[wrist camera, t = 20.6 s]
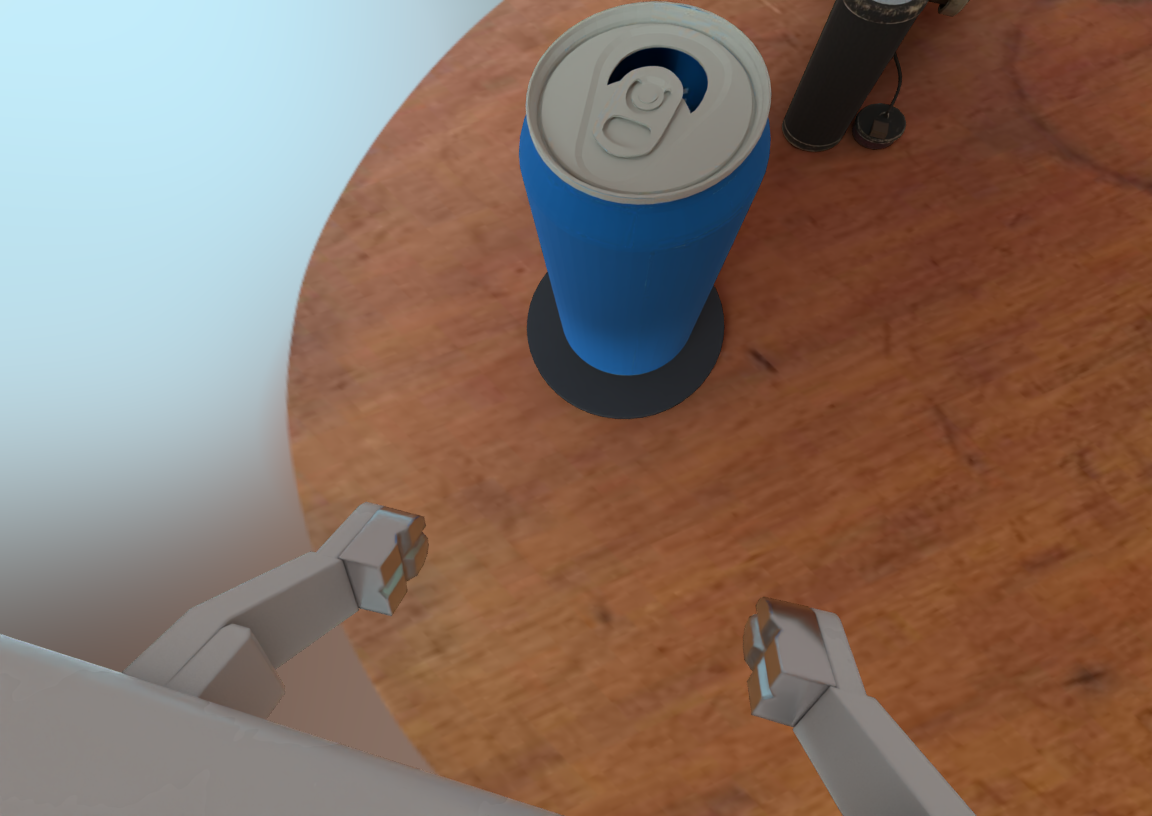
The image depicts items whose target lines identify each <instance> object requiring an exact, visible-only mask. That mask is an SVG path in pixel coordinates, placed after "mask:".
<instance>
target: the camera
mask: <svg viewBox="0 0 1152 816" xmlns="http://www.w3.org/2000/svg"><path fill="white" fill-rule="evenodd" d="M928 1H929V2H934V3H938V4H940V5H939V8H938V13H939V14H943V15H947V16H952V17H953V16H955V15H956V14H958V13H959V12H960V11H961V10H962V9H963V8H964V6H965V5H966V4H967V3H968V2H969V0H836V1H835V3H834V6H833V8H832V10H831V12H830V15H829V17H828V19H827V22H826V24H825V26H824V28H823V31H822V33H821V35H820V38H819V40H818V42H817V44H816V47H815V49H814V51H813V54H812V56H811V58H810V60H809V63H808V65H807V67H806V70H805V72H804V74H803V77H802V79H801V81H800V83H799V86H798V88H797V90H796V93H795V95H794V97H793V99H792V102H791V104H790V106H789V109H788V111H787V113H786V115H785V118H784V120H783V123H782V130H783V134H784V135H785V137H786V139H787V140H788V141H789V142H790V143H791V144H792V145H794V146H796V147H797V148H800V149H802V150H806V151H814V152H816V151H824V150H827V149H830V148H832V147H834V146H835V145H837V144H838V143H839V142H840V140H841V139H842V137H843V136H844V134H845V132H846V130H847V128H848V126H849V125H850V123H851V121H852V120H853V118H854V117H855V115H856V113H857V112H858V110H859V109H860V107H861V106H862V104H863V102H864V101H865V99H866V98H867V96H868V94H869V93H870V91H871V90H872V88H873V86H874V85H875V83H876V82H877V80H878V78H879V77H880V75H881V74H882V72H883V71H884V69H885V67H886V66H887V64H888V63H889V61H890V60H891V59H892V58H893V56H894V60H895V63H896V66H897V70H898V76H899V81H898V88H897V91H896V94H895V96H894V98H893V100H892V102H891V104H890V105H888V104H882V103H878V104H871V105H869V106H867V107H865V108H864V109H862V110H861V111H860V112H859V113H858V114H857V116H856V119H855V123H854V125H853V128H852V133H853V136H854V138H855V140H856V141H857V142H858V143H859V144H860V145H862V146H864V147H866V148H871V149H882V148H885V147H888V146H890V145H891V144H892V143H893V142H894V141H895V140H897V139H898V138H900V137H901V135H902V134H903V132H904V130H905V127H906V121H905V117H904V115H903V114H902V113H901V112H900V111H899V109H897V108H895V107H893V105H894V103H895V101H896V98H897V96H898V94H899V91H900V87H901V83H902V73H901V68H900V64H899V61H898V57H897V54H896V50H897V48H898V47H899V45H900V43H901V42H902V40H903V39H904V37H905V36H906V34H907V32H908V31H909V29H910V28H911V26H912V24H913V23H914V21H915V20H916V18H917V16H918V15H919V14H920V13H921V12H922V11H923V9H924V7H925V6H926V4H927V3H928Z"/></svg>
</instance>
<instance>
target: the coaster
mask: <svg viewBox="0 0 1152 816" xmlns="http://www.w3.org/2000/svg"><path fill="white" fill-rule="evenodd" d="M527 336H528V343H529V347H530V352H531V354H532V357H533V360H534V363H535V364H536V366H537V368H538V370H539V372H540V374H541V375H542V377H543V378H544V380H545V381H546V382H547V384H548V385H549V386H550V387H551V388H552V389H553V390H554V391H555V392H556V393H557V394H558V395H559V396H561V397H562V398H563V399H564V400H566V401H567V402H569V403H570V404H572V405H574V406H575V407H577V408H579V409H581V410H584V411H586V412H588V413H591V414H595V415H598V416H602V417H608V418H615V419H633V418H642V417H647V416H651V415H655V414H658V413H660V412H663V411H666V410H668V409H670V408H672V407H674V406H676V405H677V404H679V403H681V402H682V401H684V400H685V399H686V398H688V397H689V396H690V395H691V394H693V393H694V392H695V391H696V390H697V389H698V388H699V387H700V386H701V384H702V383H703V382H704V381H705V379H706V378H707V377H708V375H709V374H710V372H711V370H712V369H713V367H714V365H715V364H716V361H717V359H718V356H719V354H720V351H721V347H722V343H723V337H724V314H723V309H722V304H721V301H720V298H719V295H718V293H717V291H716V289H715V287H714V285H713V287H712V289H711V291H710V294H709V296H708V298H707V300H706V302H705V304H704V306H703V309H702V311H701V313H700V315H699V317H698V319H697V321H696V324H695V326H694V328H693V330H692V332H691V334H690V337H689V339H688V341H687V342H686V344H685V346H684V347H683V348H682V350H681V351H680V352H679V353H678V354H677V355H676V356H675V357H674V358H673V359H672V360H671V361H669V362H668V363H667V364H665V365H663V366H662V367H660V368H658V369H656V370H653V371H650V372H647V373H643V374H639V375H616V374H611V373H607V372H604V371H601V370H599V369H596V368H594V367H593V366H591V365H589V364H588V363H586V362H585V361H584V360H582V359H581V358H580V357H579V356H578V355H577V354H576V353H575V351H574V350H573V349H572V347H571V346H570V344H569V342H568V341H567V339H566V336H565V334H564V331H563V327H562V323H561V319H560V316H559V312H558V308H557V304H556V301H555V297H554V293H553V289H552V286H551V282H550V278H549V274H548V272H547V273H546V274H545V276H544V277H543V279H542V280H541V282H540V283H539V285H538V287H537V289H536V291H535V293H534V295H533V298H532V301H531V304H530V308H529V313H528V320H527Z"/></svg>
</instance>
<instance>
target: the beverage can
mask: <svg viewBox="0 0 1152 816" xmlns="http://www.w3.org/2000/svg"><path fill="white" fill-rule="evenodd" d="M770 104H771V84H770V78H769V74H768V70H767V67H766V65H765V63H764V60H763V58H762V56H761V54H760V53H759V51H758V50H757V48H756V47H755V45H754V44H753V43H752V42H751V41H750V39H749V38H748V37H747V36H746V35H745V34H744V33H743V32H742V31H740V30H739V29H738V28H737V27H736V26H734V25H733V24H731V23H730V22H728V21H727V20H725V19H724V18H722V17H720V16H718V15H716V14H714V13H712V12H709V11H706V10H704V9H701V8H698V7H694V6H690V5H686V4H681V3H673V2H656V1H651V2H638V3H632V4H626V5H621V6H617V7H614V8H610V9H607V10H604V11H602V12H599V13H597V14H594V15H592V16H590V17H588V18H586V19H584V20H582V21H581V22H579V23H578V24H576V25H574V26H573V27H571V28H570V29H568V30H567V31H566V32H565V33H564V34H562V35H561V36H560V37H559V38H558V39H557V40H556V41H555V42H554V43H553V44H552V45H551V46H550V47H549V48H548V49H547V51H546V52H545V53H544V55H543V56H542V57H541V59H540V60H539V62H538V64H537V66H536V67H535V69H534V72H533V74H532V77H531V79H530V82H529V86H528V90H527V96H526V116H525V118H524V123H523V127H522V131H521V136H520V146H519V159H520V169H521V173H522V177H523V181H524V185H525V188H526V192H527V196H528V200H529V203H530V207H531V211H532V215H533V218H534V222H535V226H536V230H537V233H538V237H539V241H540V244H541V248H542V252H543V256H544V259H545V263H546V267H547V271H548V274H549V278H550V282H551V286H552V289H553V293H554V297H555V301H556V304H557V308H558V312H559V316H560V319H561V323H562V327H563V331H564V334H565V336H566V339H567V341H568V342H569V344H570V346H571V347H572V349H573V350H574V351H575V353H576V354H577V355H578V356H579V357H580V358H581V359H582V360H584V361H585V362H586V363H588V364H589V365H591V366H593V367H594V368H596V369H599V370H601V371H604V372H607V373H611V374H616V375H639V374H643V373H647V372H650V371H653V370H656V369H658V368H660V367H662V366H663V365H665V364H667V363H668V362H669V361H671V360H672V359H673V358H674V357H675V356H676V355H677V354H678V353H679V352H680V351H681V350H682V348H683V347H684V346H685V344H686V342H687V341H688V339H689V337H690V334H691V332H692V330H693V328H694V326H695V324H696V321H697V319H698V317H699V315H700V313H701V311H702V309H703V306H704V304H705V302H706V300H707V298H708V296H709V294H710V291H711V289H712V287H713V285H714V283H715V281H716V279H717V276H718V274H719V272H720V270H721V268H722V266H723V264H724V261H725V259H726V257H727V255H728V253H729V251H730V249H731V246H732V244H733V242H734V240H735V238H736V236H737V234H738V231H739V229H740V227H741V225H742V223H743V221H744V218H745V216H746V214H747V212H748V210H749V208H750V206H751V203H752V201H753V199H754V197H755V195H756V193H757V191H758V188H759V186H760V184H761V182H762V179H763V177H764V174H765V172H766V168H767V164H768V160H769V154H770V141H771V138H770V126H769V119H768V114H769V110H770Z"/></svg>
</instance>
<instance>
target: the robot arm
mask: <svg viewBox="0 0 1152 816" xmlns="http://www.w3.org/2000/svg"><path fill="white" fill-rule="evenodd" d="M425 526H426V524H425V519H424V517H423V516H420V515H416V514H412V513H408V512H404V511H401V510H397V509H393V508H389V507H386V506H382V505H378V504H374V503H369V502H365V503H363V504H361V505H359V506H358V507H357V508H356V509H355V510H354V512H353V513H352V514H351V515H350V516H349V517H348V518H347V519H346V520H345V521H344V522H343V524H342V525H341V526H340V527H339V528H338V529H337V530H336V531H335V532H334V533H333V535H332V536H331V537H330V538H329V539H328V540H327V541H326V542H325V543H324V544H323V545H322V547H321V548H320V549H319V550H318V551H317V552H316V553H315V552H311V551H310V552H308V553H306V554H304V555H302V556H300V557H298V558H296V559H294V560H291V561H289V562H287V563H285V564H283V565H281V566H279V567H277V568H274V569H272V570H270V571H268V572H266V573H264V574H262V575H260V576H258V577H256V578H254V579H251V580H249V581H248V582H245V583H243V584H241V585H239V586H237V587H235V588H233V589H231V590H228V591H226V592H224V593H222V594H220V595H218V596H216V597H214V598H212V599H209V600H208V601H205V602H203V603H201V604H199V605H197V606H195V607H193V608H190V609H189V610H188V611H187V612H186V613H185V614H184V615H183V616H182V617H181V618H180V619H179V620H177V622H175V623H174V624H173V625H172V626H171V627H170V628H169V629H168V630H167V631H166V632H165V633H164V634H163V635H161V636H160V637H159V638H158V639H157V640H156V641H155V642H154V643H153V644H152V645H151V646H150V647H148V648H147V649H146V650H145V651H144V652H143V653H142V654H141V655H140V656H139V657H138V658H137V659H136V660H134V662H132V663H131V664H130V665H129V666H128V667H127V668H126V669H125V670H124V671H123V672H122V673H120V672H116V671H113V670H111V669H107V668H104V667H101V666H98V665H95V664H92V663H89V662H86V661H83V660H79V659H76V658H73V657H70V656H67V655H64V654H61V653H57V652H55V651H52V650H48V649H45V648H42V647H39V646H36V645H33V644H30V643H27V642H23V641H20V640H17V639H14V638H11V637H8V636H5V635H2V634H0V816H563V815H560V814H557V813H554V812H551V811H548V810H545V809H542V808H539V807H535V806H532V805H529V804H526V803H523V802H520V801H517V800H514V799H511V798H508V797H504V796H501V795H498V794H495V793H492V792H489V791H486V790H483V789H480V788H477V787H473V786H470V785H467V784H464V783H461V782H458V781H455V780H452V779H449V778H446V777H442V776H439V775H436V774H433V773H430V772H427V771H424V770H420V769H418V768H414V767H411V766H408V765H405V764H402V763H399V762H396V761H393V760H390V759H387V758H383V757H380V756H377V755H374V754H371V753H368V752H365V751H362V750H358V749H356V748H352V747H349V746H346V745H343V744H340V743H337V742H334V741H331V740H328V739H325V738H321V737H318V736H315V735H312V734H309V733H306V732H303V731H300V730H296V729H294V728H290V727H287V726H284V725H281V724H278V723H275V722H272V721H269V720H266V719H267V718H268V717H269V715H270V714H271V712H272V711H273V710H274V708H275V707H276V705H277V704H278V703H279V701H280V700H281V698H282V697H283V695H284V694H285V685H284V684H283V682H282V680H281V679H280V677H279V675H278V674H277V672H276V671H275V670H276V669H277V668H278V667H280V666H281V665H283V664H284V663H285V662H287V661H288V660H290V659H291V658H293V657H294V656H295V655H297V654H298V653H300V652H301V651H302V650H304V649H305V648H306V647H308V646H309V645H311V644H312V643H314V642H315V641H316V640H318V639H319V638H321V637H322V636H323V635H325V634H326V633H328V632H329V631H330V630H332V629H333V628H335V627H336V626H337V625H339V624H340V623H342V622H343V621H344V620H346V619H347V618H349V617H350V616H352V615H353V614H354V613H356V612H357V611H358V610H359V609H358V608H361V609H365V610H369V611H373V612H377V613H381V614H385V615H390V616H392V615H393V614H394V612H395V610H396V609H397V607H398V606H399V604H400V602H401V601H402V599H403V598H404V596H405V594H406V593H407V581H409V580H410V579H412V578H414V577H415V576H417V575H418V573H419V572H420V570H421V568H422V567H423V565H424V562H425V559H426V557H427V554H428V546H429V544H428V538H427V537H426V535H425V534H424V533H423V532H422V531H423V529H424V528H425ZM756 610H757V614H755V615H753V616H750V617H749V619H748V621H747V623H746V625H745V629H744V635H743V652H744V660H745V661H746V663H747V664H748V666H749V667H750V669H751V670H752V674H751V675H750V677H749V679H748V680H747V685H748V692H749V700H750V707H751V715H754V716H758V717H761V718H764V719H768V720H771V721H774V722H777V723H781V724H784V725H787V726H791V727H794V728H793V731H794V733H795V735H796V736H797V738H798V740H799V741H800V743H801V745H802V746H803V748H804V750H805V752H806V753H807V755H808V757H809V758H810V760H811V762H812V764H813V765H814V767H815V769H816V770H817V772H818V774H819V776H820V777H821V779H822V781H823V782H824V784H825V786H826V788H827V789H828V791H829V793H830V794H831V796H832V798H833V800H834V801H835V803H836V805H837V806H838V808H839V810H840V812H841V813H842V815H843V816H976V815H975V814H974V812H973V811H972V810H971V809H970V808H969V807H968V806H967V804H966V803H965V802H964V801H963V800H962V799H961V797H960V796H959V795H958V794H957V793H956V792H955V790H954V789H953V788H952V787H951V786H950V785H949V783H948V782H947V781H946V780H945V779H944V778H943V776H942V775H941V774H940V773H939V772H938V771H937V770H936V768H935V767H934V766H933V765H932V764H931V763H930V761H929V760H928V759H927V758H926V757H925V756H924V754H923V753H922V752H921V751H920V750H919V749H918V747H917V746H916V745H915V744H914V743H913V742H912V740H911V739H910V738H909V737H908V736H907V735H906V734H905V732H904V731H903V730H902V729H901V728H900V727H899V725H898V724H897V723H896V722H895V721H894V720H893V718H892V717H891V716H890V715H889V714H888V713H887V711H886V710H885V709H884V708H883V707H882V706H881V705H880V703H879V702H878V701H877V700H876V699H875V698H873V697H870V696H867V694H866V691H865V689H864V686H863V683H862V680H861V677H860V674H859V671H858V669H857V666H856V663H855V660H854V657H853V654H852V652H851V649H850V646H849V643H848V640H847V637H846V634H845V632H844V629H843V626H842V623H841V620H840V618H839V617H838V616H837V615H836V614H835V613H832V612H827V611H823V610H818V609H814V608H809V607H808V606H804V605H799V604H795V603H790V602H786V601H781V600H777V599H772V598H768V597H762V598H760V599H759V601H758V602H757V604H756Z"/></svg>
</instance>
